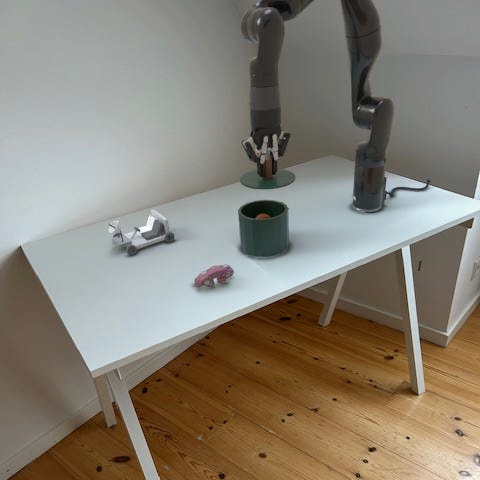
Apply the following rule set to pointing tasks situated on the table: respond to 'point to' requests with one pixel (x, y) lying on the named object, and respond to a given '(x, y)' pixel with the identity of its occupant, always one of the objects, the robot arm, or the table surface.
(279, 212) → the pot
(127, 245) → the toy car
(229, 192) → the table surface
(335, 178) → the table surface
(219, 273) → the video game controller
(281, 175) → the lid
